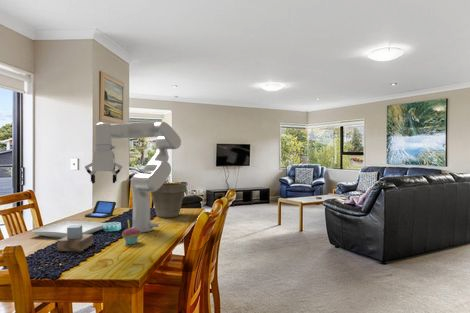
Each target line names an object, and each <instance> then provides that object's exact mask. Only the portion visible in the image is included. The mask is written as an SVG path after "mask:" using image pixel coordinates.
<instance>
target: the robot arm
mask: <svg viewBox="0 0 470 313" xmlns="http://www.w3.org/2000/svg"><path fill="white" fill-rule="evenodd" d="M94 128H95V129H94V132H95V141H94V143H95V148H94V149H95V151H93V155H92V160H91V163H89V164H87V165H85V166H84V168H85V170H86V172H87V174H89V175H90V182H91V184H95V183H96V174H95V173H96V172H111V173H112V184H116V182H118V181H117V180H118V179H117V177H118V176H117V175H118V174H119V173H120V172H121V170H122V168H123V165H121V164H119V163H118V162H116V156H115V151H113V150H114V149H116V146H115V145H113V144H112V143H113V141H112V140H113V139H117V140H118V139H127V138H128V139H141V138H142V139H143V138H156V139H155V154H154V155H152V157H151V158H150V160H149V161H147V163H146V164H145V166H144V167H143V168H144V169H143V171H144V172H143V173H136V174H134V175H132V176H131V179H130V187H131V193H132V227H130V228H137V229H138V230H140V233H149V232H152V231H153V230H154V228H158V227H159V223H157V222H152V220H151V192H154V191H157V190H158V189H159V188H160V187H161V186H162V184H163V183H166V180H168V178H169V176H170V175H171V171H172V166H171V164H170V162H169V152H168V150H178V149H179V148H180V147H181V145H182V139H181V136H179V134H178V133H177V132H176V130H175V129H174V128H173V127H172V126H171V125H170V124H169V123H167V122H166V121H151V122H150V121H148V122H142V121H141V122H140V121H139V122H130V123H108V122H98V123H96V124H95V126H94ZM90 167H91V168H92V170H91V169H90ZM116 167H117V170H116ZM150 191H151V192H150Z"/></svg>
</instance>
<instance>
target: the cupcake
mask: <svg viewBox="0 0 470 313" xmlns="http://www.w3.org/2000/svg"><path fill="white" fill-rule="evenodd" d="M127 226H128V228H125V229H124V230H123V231H122V232H121V236H122V238H124V241H125V244H127V245H134V244H137V242H138V238H139V237H140V236H141V233H140V230H138V229H137V228H131V227H130V226H131V224H130V219H127Z"/></svg>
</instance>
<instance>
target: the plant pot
mask: <svg viewBox="0 0 470 313" xmlns="http://www.w3.org/2000/svg"><path fill="white" fill-rule="evenodd" d="M186 191H187V183H181V182H164V183H163V184H162V186H161V187H160V188H159V189H158V190H157V191H154V192H151V191H149V193H150V196H151V198H152V203H153V205H154V211H155V214H156V216H157V217H158V218H166V219H167V218H175V217H179V216H180V211H181V209H182V208H181V207H182V204H183V202H184V201H183V200H184V197H185V193H186Z"/></svg>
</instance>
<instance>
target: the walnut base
mask: <svg viewBox="0 0 470 313" xmlns="http://www.w3.org/2000/svg"><path fill="white" fill-rule="evenodd" d="M92 244H93V245H94V234H93V233H90V234H82V236H81V237H80V238H79V239H67V236H65V237H63V238H59V239H57V241H56V246H57V249H56V252H83V251H84V249H85V250H86V249H88V248H89V246H90V247H91V246H93V245H92Z"/></svg>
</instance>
